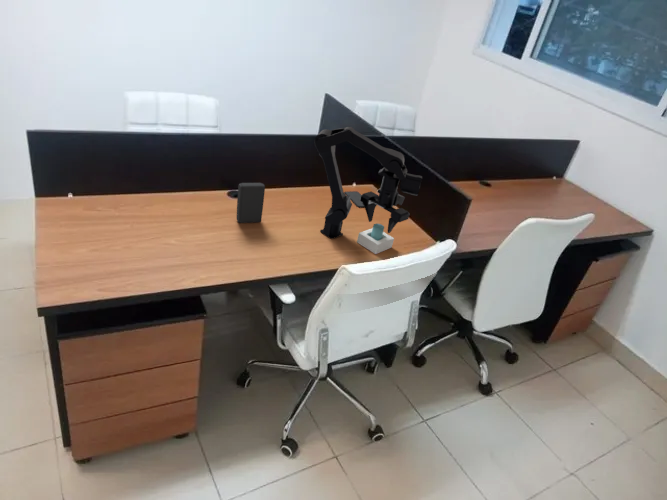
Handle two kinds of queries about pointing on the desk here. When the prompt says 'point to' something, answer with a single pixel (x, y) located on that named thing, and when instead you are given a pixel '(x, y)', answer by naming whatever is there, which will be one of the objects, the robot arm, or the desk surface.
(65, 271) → the desk surface
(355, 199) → the smartphone
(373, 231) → the peg
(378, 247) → the socket
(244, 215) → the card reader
